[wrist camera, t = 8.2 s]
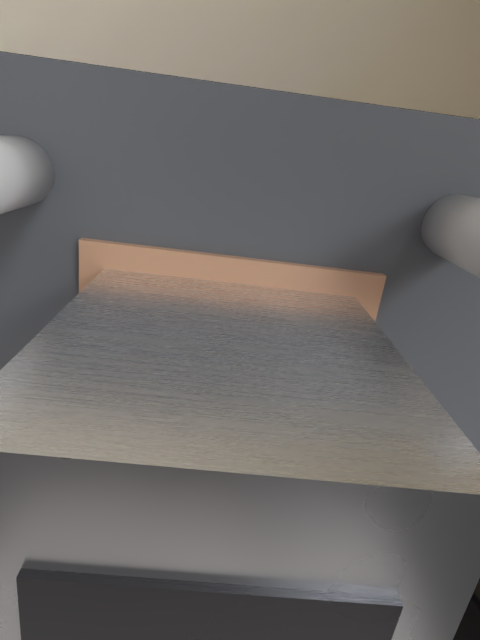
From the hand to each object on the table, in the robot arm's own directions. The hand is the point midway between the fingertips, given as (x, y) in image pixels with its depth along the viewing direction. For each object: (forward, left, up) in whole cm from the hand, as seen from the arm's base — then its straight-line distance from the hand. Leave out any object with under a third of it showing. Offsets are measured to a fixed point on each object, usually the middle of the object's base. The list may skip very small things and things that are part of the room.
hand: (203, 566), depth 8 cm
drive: (0, 0, -3) cm, 3 cm away
